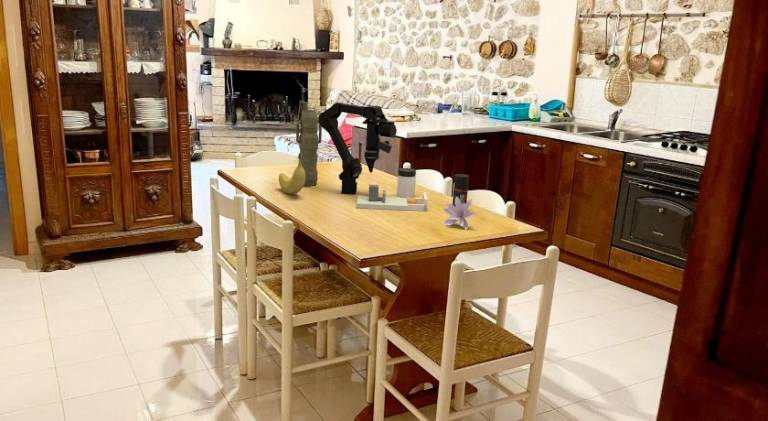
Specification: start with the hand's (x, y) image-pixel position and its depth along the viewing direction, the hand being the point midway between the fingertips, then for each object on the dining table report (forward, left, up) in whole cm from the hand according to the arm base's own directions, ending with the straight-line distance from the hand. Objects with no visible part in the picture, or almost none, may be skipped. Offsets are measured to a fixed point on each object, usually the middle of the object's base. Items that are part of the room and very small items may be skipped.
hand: (371, 170), depth 271 cm
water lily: (+34, -39, -12) cm, 54 cm away
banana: (-35, -2, -12) cm, 37 cm away
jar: (+16, +6, -12) cm, 21 cm away
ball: (+18, -14, -10) cm, 25 cm away
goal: (+20, -14, -12) cm, 27 cm away
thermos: (-30, +17, -12) cm, 37 cm away
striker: (+3, -14, -10) cm, 17 cm away
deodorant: (+38, -16, -12) cm, 43 cm away
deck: (+5, -14, -12) cm, 19 cm away
